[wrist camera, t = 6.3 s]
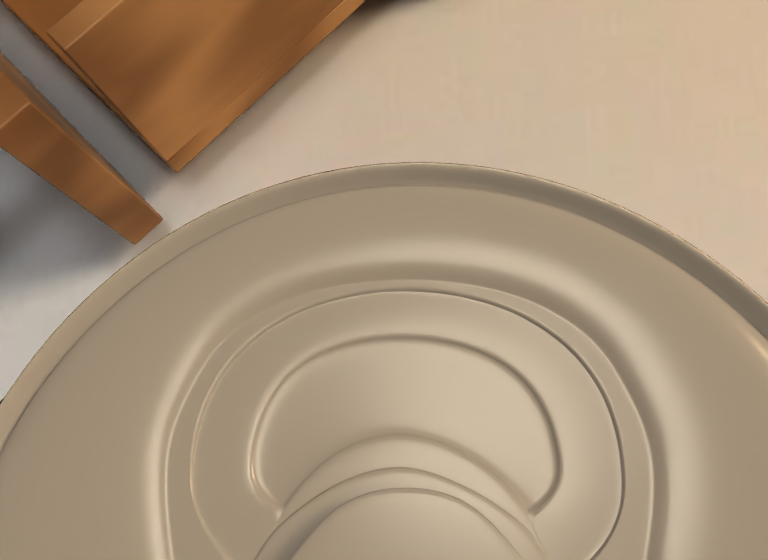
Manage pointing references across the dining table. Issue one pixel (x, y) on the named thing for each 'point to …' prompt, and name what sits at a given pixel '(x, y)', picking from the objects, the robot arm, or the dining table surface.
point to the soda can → (399, 385)
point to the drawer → (151, 83)
